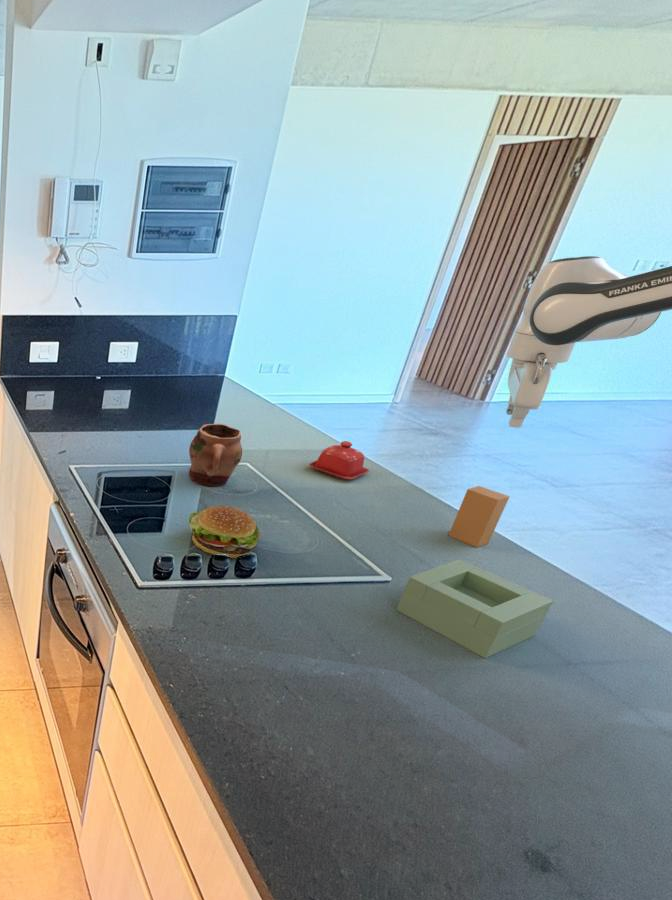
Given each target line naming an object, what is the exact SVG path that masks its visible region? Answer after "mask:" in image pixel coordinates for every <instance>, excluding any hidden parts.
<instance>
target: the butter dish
mask: <svg viewBox="0 0 672 900" xmlns="http://www.w3.org/2000/svg"><path fill="white" fill-rule="evenodd" d="M352 446H353V443H352V442H351V441H348V440H343V441H341V442H340V444H334V445H330V446H328V447H326V448H324V449H322V452H321V453H320V455H319V456H318V458H317V459H316V460H314V461H313V462H310V463H308V466H309V468H312V469H315V470H317V471H318V472H321V473H325V474H327V475H330V476H333V477H337V478H338V479H342V480H349V481H350V480H351V481H352V480H354V479H356V478H359V477H361V476H363V475H365V474H367V473H368V472H371V470H370V469H369V468H367V467H364V464H365V455H364V453H363V452H362V451H360V450H358V449H356V448H354V447H352Z"/></svg>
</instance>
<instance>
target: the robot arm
mask: <svg viewBox="0 0 672 900" xmlns="http://www.w3.org/2000/svg"><path fill="white" fill-rule="evenodd" d="M522 310H523V311H522V313H523V314H522V318H521V321H520V322H519V323H518V325H517V327H516V328H515V330H514V332H513V335H512V338H511V340H510V343H509V346H508V349H507V352H506V357H508V358H510V359H512V360H511V364H510V368H509V372H508V378H507V387H508V391H509V398H508V403H507V406H506V409H505V414H506V415H508V416H509V415H510V418H509V421H508V426H509V427H510V428H516V429H519V428H521V427H522V425H523V423H524V421H525V419H526V417H527V416H528V414H529V413H530V411H531V410H538V409H539V408H540V406H541V405H542V403H543V399H544V397H545V393H546V391H547V388H548V386H549V383H550V379H551V376H552V372H553V371H554V370H556V369H557V365H558V364H562V363H566V362H568V361H569V360H570V357H571V354H572V351H573V349H574V347H575V345H576V343H583V342H585V343H586V342H597V341H598V342H599V341H609V340H618V339H626V338H629V337H634V336H637V335H639V334H641V333H643V332H645V331H647V330H648V329H649V328H650V327H652V326H653V325H654V324H655V323H656V322H657V320H658V319H659V317H660V315H661V314H662V313H663V312H668V311H671V310H672V265H669V266H666V267H662V268H659V269H654V270H651V271H647V272H643V273H638V274H635V275H631V276H628V275H625V274H623V273H621V272H619V271H617V270H615V269H614V268H612V267H611V266H610V265H608V263H607V262H606V260H605V259H604V258H603V257H601V256H597V255H596V256H595V255H587V256H577V257H576V256H575V257H574V256H573V257H564V258H558V259H555V260H551V261H550V262H547V263H545V265H543V266H542V267H541V269H540V270H539V272H538V273H537V275H536V277H535V279H534V280H533V283H532V285H531V287H530V289H529V291H528V293H527V297H526V299H525V302H524V305H523V309H522Z"/></svg>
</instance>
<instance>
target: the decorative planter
mask: <svg viewBox="0 0 672 900" xmlns="http://www.w3.org/2000/svg"><path fill="white" fill-rule="evenodd" d="M241 441H242V434H241V431H240V430H239V429H237V428H235V427H231V426H229V425H228V424H223V423H208V424H207V423H206V424H203V425H202V426H201V427H200V428H199V429H198V431H197V433H196V434H195V436H194V437H193V439H192V440H191V442H190V445H189V449H188V455H189V459H190V467H189V470H188V475H189V479H190V480H191V481H192V482H193V483H195V484H198V485H204V486H212V487H213V486H214V487H216V486H217V487H218V486H224V485H226V484H227V483H228V481H229V479H230V478H231V476H232V474H233V473H234V471H235V470H236V468H237V467H238V465H239V464H240V463H241V460H242V456H243V446H242V442H241Z"/></svg>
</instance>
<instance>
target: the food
mask: <svg viewBox="0 0 672 900" xmlns="http://www.w3.org/2000/svg"><path fill="white" fill-rule="evenodd" d="M188 521H189V528H190V531H191V533H192V535H191V536H192V537H191V539H192V542H193V543H194V545H195V547H196V548H198V549H200V550H201V551H203V552H204V553H206V554H209V555H213V556H215V554H226V555H228V556H229V557H230V558H229V559H238V558H237V557H239V556H241V555H244V554H248V555H249V554H250V553H252V552H253V550H255V549H256V548H257V544H258V540H259V539H260V536H261V532H260V531H259V530H260V528H258V524H257V523H256V521H255V519H254V518H253V517H252V516H251V515H250V514H248V513H247V512H246V511H244V510H242V509H239V508H236V507H233V506H228V505H215V506H214V505H213V506H210V507H207V508H203V510H199V512H198V513H197V511H194V512H192V513H191V514H190V515H189V517H188ZM239 558H240V557H239Z"/></svg>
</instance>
